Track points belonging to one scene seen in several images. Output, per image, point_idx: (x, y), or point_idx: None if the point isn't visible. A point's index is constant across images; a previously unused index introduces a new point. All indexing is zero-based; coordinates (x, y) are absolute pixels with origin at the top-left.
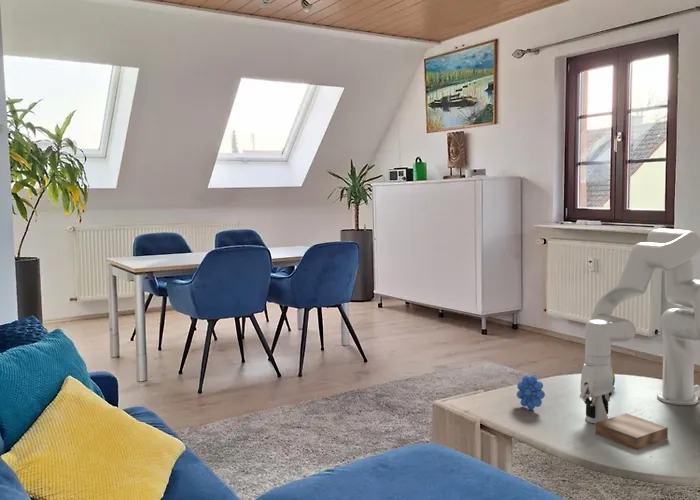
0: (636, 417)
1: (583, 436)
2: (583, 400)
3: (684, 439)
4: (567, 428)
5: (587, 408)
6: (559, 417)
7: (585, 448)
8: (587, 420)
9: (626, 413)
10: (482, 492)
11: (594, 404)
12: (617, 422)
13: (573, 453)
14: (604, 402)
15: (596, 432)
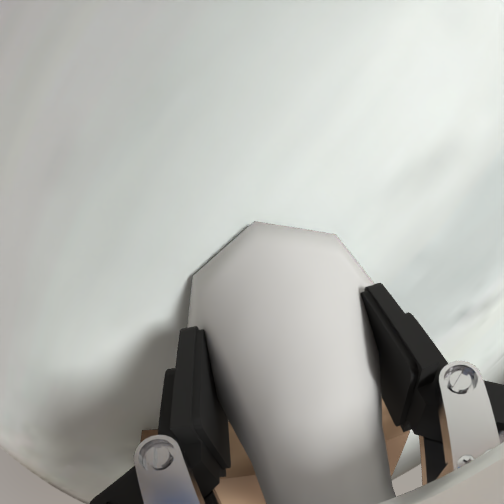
0: (389, 464)
1: (75, 424)
2: (97, 502)
3: (401, 468)
4: (20, 340)
5: (165, 419)
6: (23, 148)
7: (59, 463)
8: (190, 312)
9: (408, 432)
10: None
11: (252, 453)
12: (251, 496)
13: (22, 459)
14: (399, 416)
15: (142, 440)
